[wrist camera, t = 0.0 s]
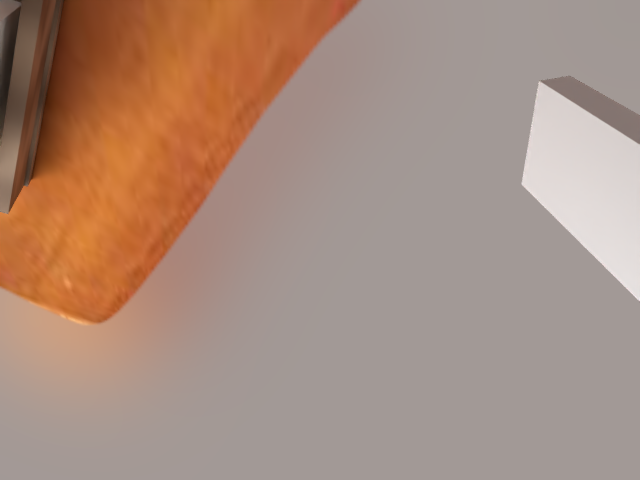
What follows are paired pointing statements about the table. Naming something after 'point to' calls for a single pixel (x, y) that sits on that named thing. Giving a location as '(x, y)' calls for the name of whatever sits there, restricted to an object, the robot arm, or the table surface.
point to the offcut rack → (27, 95)
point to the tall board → (7, 51)
